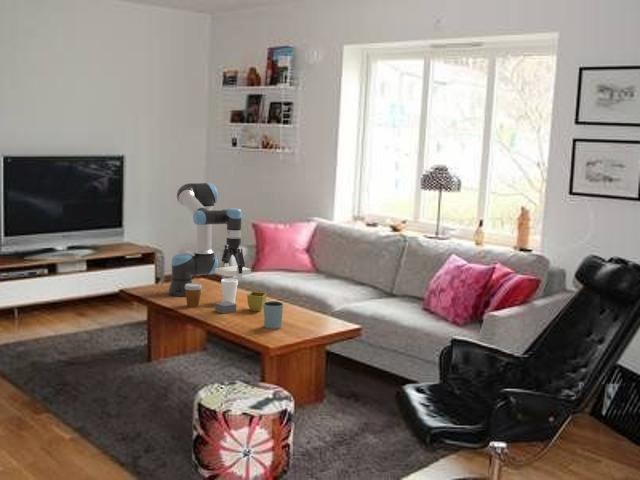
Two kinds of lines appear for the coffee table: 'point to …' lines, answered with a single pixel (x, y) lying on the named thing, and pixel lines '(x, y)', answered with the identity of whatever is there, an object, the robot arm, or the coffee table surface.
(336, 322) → the coffee table surface
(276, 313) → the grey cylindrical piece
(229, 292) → the foam cup
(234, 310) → the stand
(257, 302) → the flower pot
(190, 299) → the disposable coffee cup
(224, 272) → the lid
